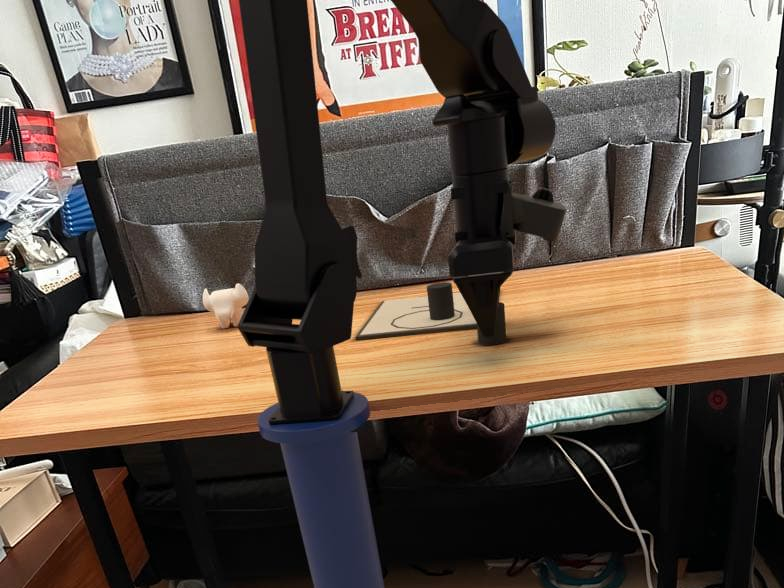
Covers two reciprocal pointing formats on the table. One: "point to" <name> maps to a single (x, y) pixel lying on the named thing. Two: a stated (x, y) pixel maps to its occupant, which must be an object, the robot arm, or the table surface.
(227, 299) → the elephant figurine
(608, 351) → the table surface
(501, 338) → the eye puck
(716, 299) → the table surface
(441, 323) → the sketch board
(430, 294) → the eye puck
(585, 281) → the table surface
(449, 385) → the table surface
